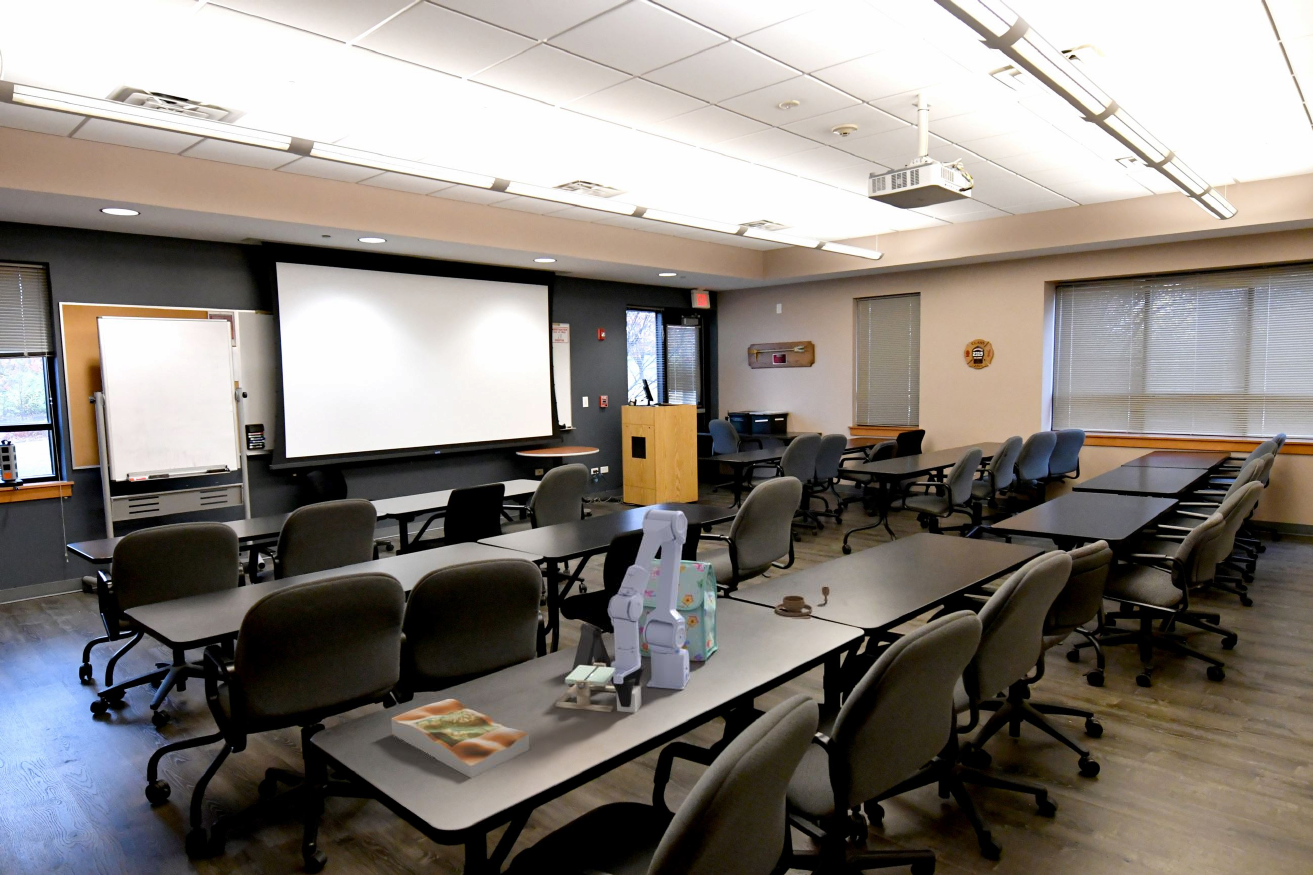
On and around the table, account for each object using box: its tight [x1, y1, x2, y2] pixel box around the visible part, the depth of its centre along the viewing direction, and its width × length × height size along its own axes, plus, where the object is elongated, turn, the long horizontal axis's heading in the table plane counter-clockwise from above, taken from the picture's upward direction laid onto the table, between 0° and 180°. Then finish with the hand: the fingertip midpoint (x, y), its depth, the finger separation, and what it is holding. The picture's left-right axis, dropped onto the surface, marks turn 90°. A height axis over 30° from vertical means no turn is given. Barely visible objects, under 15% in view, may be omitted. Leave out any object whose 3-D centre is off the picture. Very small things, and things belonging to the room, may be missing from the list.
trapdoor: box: [564, 665, 615, 688], centre depth 182 cm, size 10×9×2 cm
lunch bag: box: [638, 558, 719, 662], centre depth 210 cm, size 23×16×27 cm
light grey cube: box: [615, 685, 642, 713], centre depth 176 cm, size 4×4×4 cm
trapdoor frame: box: [555, 662, 617, 713], centre depth 182 cm, size 14×14×7 cm
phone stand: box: [572, 622, 613, 671], centre depth 201 cm, size 9×6×12 cm, turn 128°
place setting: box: [774, 586, 830, 620], centre depth 245 cm, size 18×20×6 cm
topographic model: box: [390, 698, 530, 779], centre depth 162 cm, size 30×14×5 cm, turn 49°
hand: (629, 701), depth 176 cm, fingers closed on light grey cube, 4 cm apart
